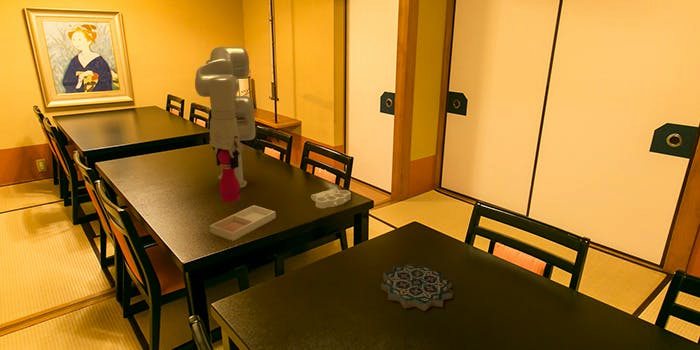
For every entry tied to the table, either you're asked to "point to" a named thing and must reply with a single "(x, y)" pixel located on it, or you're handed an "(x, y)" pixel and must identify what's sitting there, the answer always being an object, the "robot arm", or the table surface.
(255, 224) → the cell tray
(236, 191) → the pepper mill
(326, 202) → the knuckle duster
